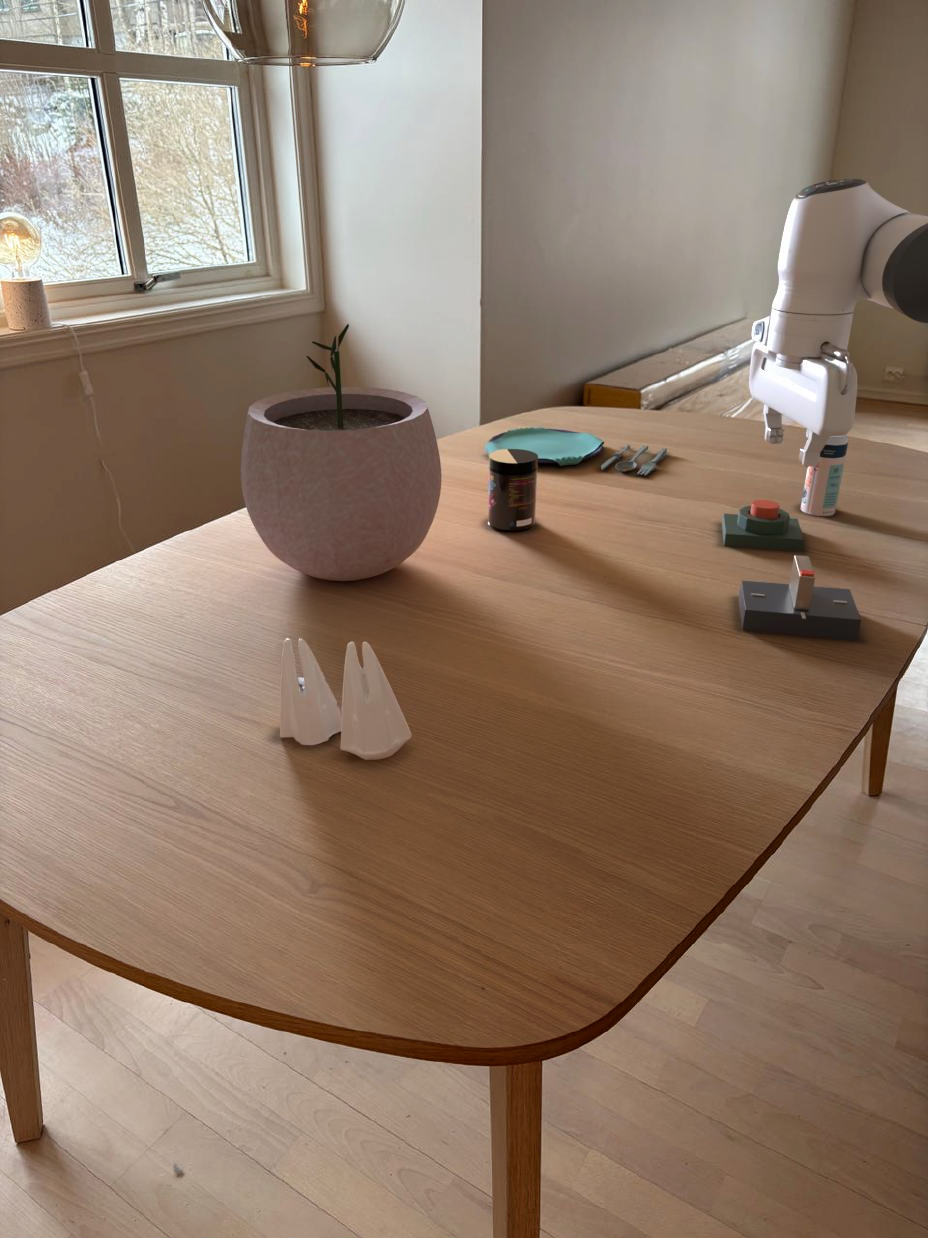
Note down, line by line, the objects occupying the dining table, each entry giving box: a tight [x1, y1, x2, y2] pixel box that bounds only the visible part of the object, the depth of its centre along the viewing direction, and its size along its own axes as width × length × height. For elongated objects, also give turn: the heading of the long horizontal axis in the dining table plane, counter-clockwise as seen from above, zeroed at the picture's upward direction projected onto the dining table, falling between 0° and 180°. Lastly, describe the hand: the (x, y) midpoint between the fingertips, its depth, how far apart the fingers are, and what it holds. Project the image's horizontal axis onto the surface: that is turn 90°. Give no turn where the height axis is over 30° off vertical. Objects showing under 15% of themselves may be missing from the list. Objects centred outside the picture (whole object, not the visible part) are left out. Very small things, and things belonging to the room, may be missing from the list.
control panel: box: [738, 580, 862, 642], centre depth 107 cm, size 12×10×3 cm
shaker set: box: [279, 637, 412, 761], centre depth 83 cm, size 12×4×11 cm, turn 64°
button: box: [750, 499, 780, 519], centre depth 128 cm, size 4×4×2 cm
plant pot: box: [240, 323, 442, 582], centre depth 114 cm, size 24×24×30 cm
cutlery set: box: [484, 426, 668, 477], centre depth 163 cm, size 20×30×2 cm, turn 64°
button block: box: [721, 505, 805, 553], centre depth 129 cm, size 10×8×4 cm
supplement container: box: [487, 449, 539, 534], centre depth 132 cm, size 7×7×10 cm
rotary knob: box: [788, 554, 816, 611], centre depth 105 cm, size 6×2×4 cm, turn 168°
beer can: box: [800, 435, 849, 517], centre depth 137 cm, size 5×5×12 cm
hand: (789, 453), depth 115 cm, fingers open, 8 cm apart
